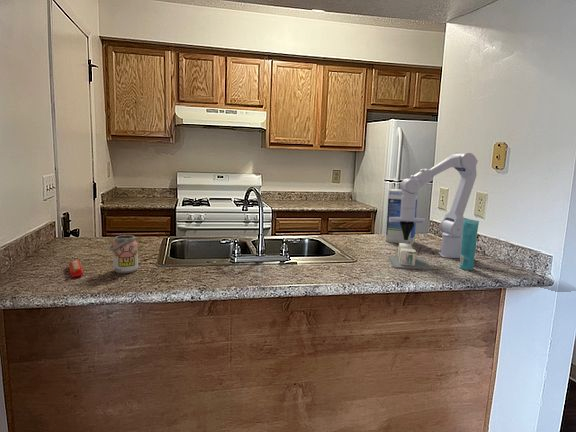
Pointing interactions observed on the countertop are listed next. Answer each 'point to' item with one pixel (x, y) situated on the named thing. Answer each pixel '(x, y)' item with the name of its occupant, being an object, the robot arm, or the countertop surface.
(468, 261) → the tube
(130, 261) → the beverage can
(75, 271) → the candy bar
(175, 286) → the countertop surface
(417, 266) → the mat
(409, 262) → the syrup box
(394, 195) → the string lights box
